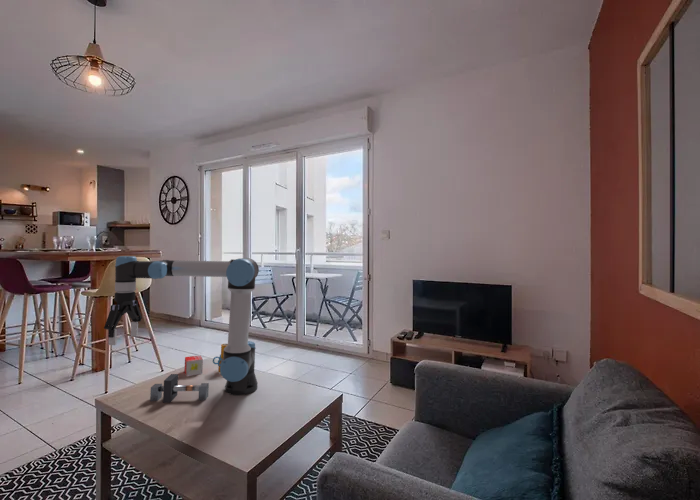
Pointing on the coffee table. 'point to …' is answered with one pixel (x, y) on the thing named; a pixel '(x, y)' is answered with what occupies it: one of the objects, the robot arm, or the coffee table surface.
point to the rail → (158, 389)
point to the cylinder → (220, 356)
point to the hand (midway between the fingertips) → (123, 340)
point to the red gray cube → (193, 365)
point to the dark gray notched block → (170, 388)
